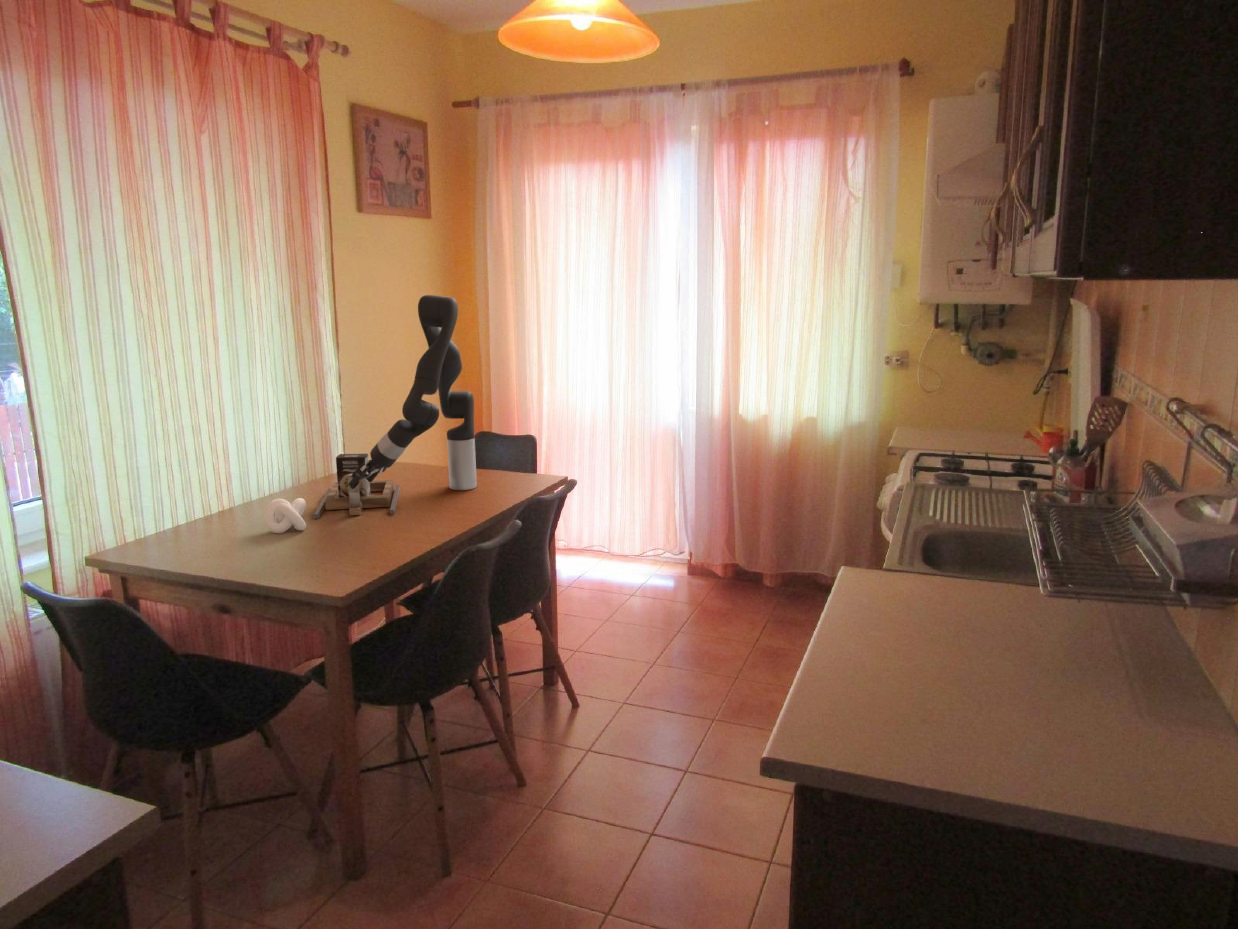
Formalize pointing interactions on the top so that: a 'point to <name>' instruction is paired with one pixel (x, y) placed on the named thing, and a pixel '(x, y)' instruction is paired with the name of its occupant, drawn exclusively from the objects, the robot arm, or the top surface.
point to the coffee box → (348, 466)
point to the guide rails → (322, 504)
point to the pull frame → (360, 497)
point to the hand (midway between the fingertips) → (359, 483)
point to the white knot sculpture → (284, 515)
